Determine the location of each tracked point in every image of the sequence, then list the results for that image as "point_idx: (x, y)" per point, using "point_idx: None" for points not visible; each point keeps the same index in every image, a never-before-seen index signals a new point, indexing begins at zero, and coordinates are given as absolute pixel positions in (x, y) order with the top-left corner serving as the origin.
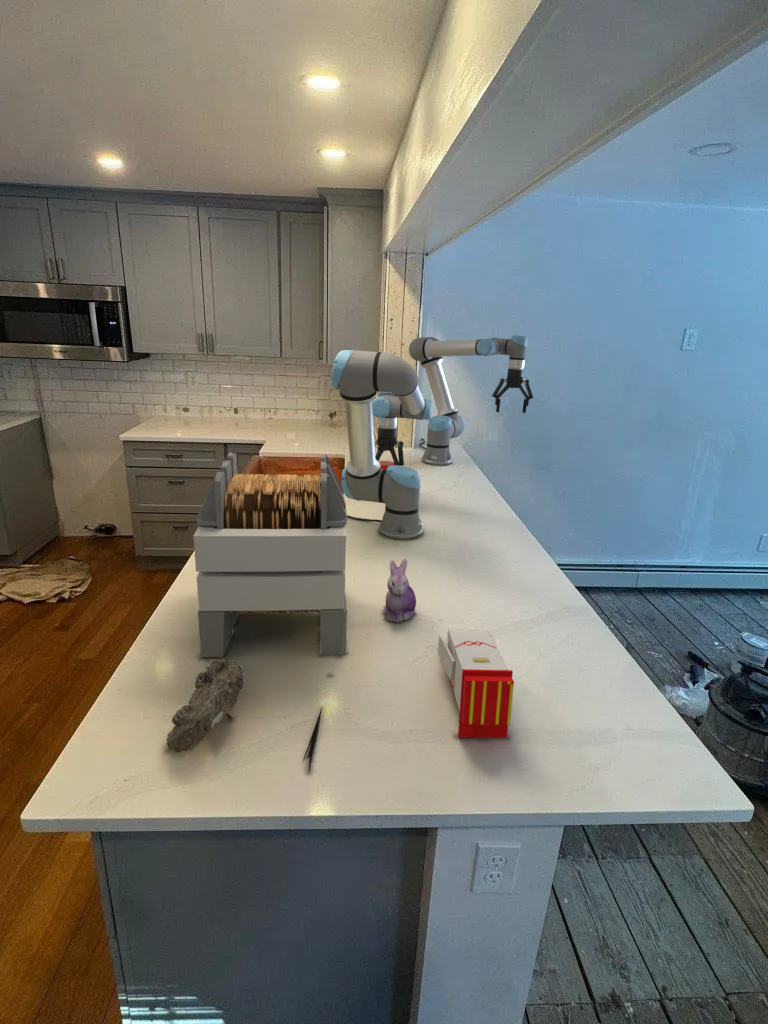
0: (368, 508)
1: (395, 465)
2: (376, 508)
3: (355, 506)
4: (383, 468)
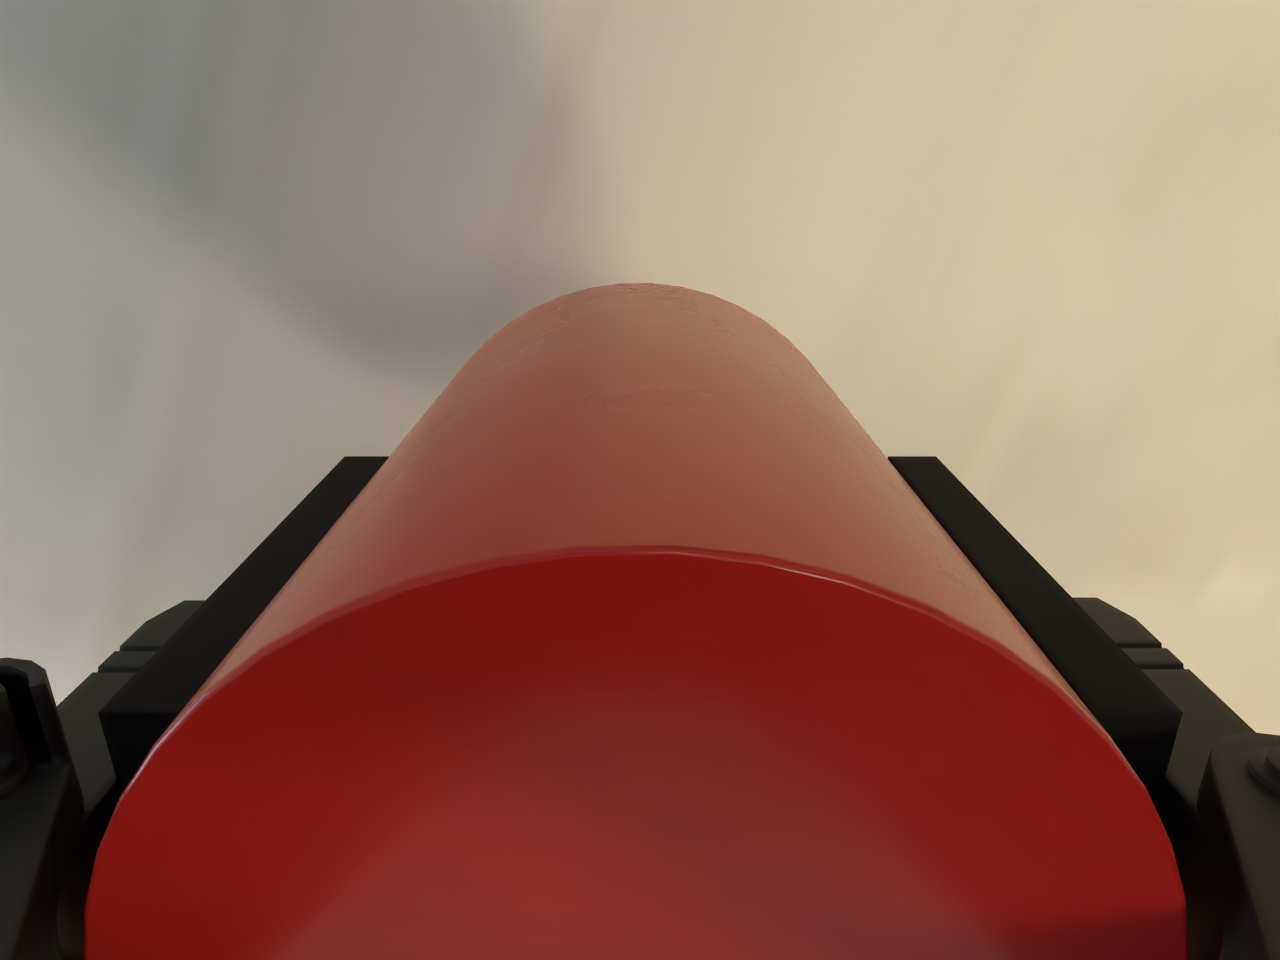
0: (1043, 114)
1: None
2: (908, 76)
3: (1197, 274)
4: (928, 550)
